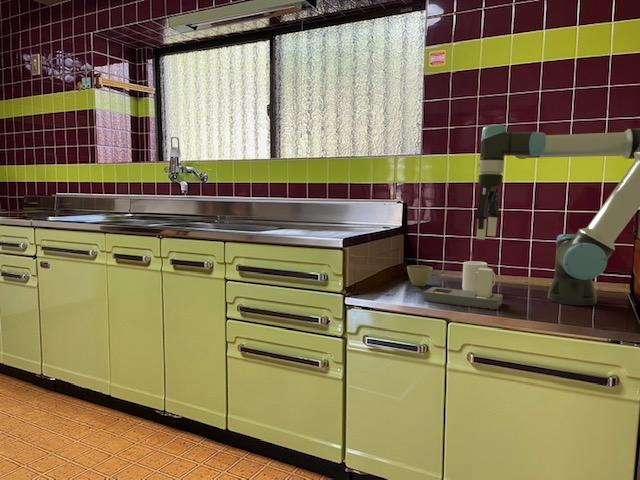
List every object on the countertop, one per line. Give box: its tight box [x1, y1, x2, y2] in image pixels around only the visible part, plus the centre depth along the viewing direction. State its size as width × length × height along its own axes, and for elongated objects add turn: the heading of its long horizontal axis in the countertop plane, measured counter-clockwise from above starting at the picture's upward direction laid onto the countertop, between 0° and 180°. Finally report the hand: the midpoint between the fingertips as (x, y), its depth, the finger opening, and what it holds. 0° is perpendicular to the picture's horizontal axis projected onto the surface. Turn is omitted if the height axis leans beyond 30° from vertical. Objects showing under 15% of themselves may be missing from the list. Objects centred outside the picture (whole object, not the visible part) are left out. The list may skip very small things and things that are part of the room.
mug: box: [461, 260, 497, 292], centre depth 182 cm, size 9×12×11 cm
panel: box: [423, 286, 504, 310], centre depth 166 cm, size 24×10×3 cm, turn 60°
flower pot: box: [406, 265, 434, 287], centre depth 194 cm, size 10×10×7 cm
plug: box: [475, 267, 494, 298], centre depth 162 cm, size 5×4×12 cm
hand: (486, 237), depth 163 cm, fingers open, 13 cm apart
